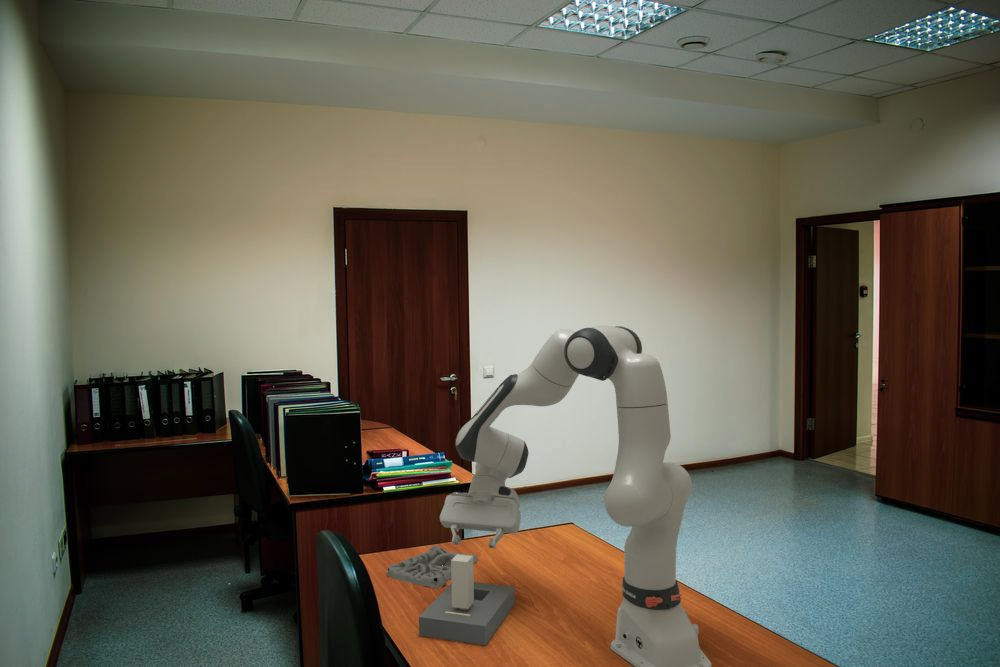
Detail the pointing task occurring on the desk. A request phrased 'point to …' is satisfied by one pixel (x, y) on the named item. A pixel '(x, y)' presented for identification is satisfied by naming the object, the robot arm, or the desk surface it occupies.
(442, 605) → the keyhole plate
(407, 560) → the wall plaque
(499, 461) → the robot arm
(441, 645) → the desk surface
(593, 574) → the desk surface
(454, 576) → the post
